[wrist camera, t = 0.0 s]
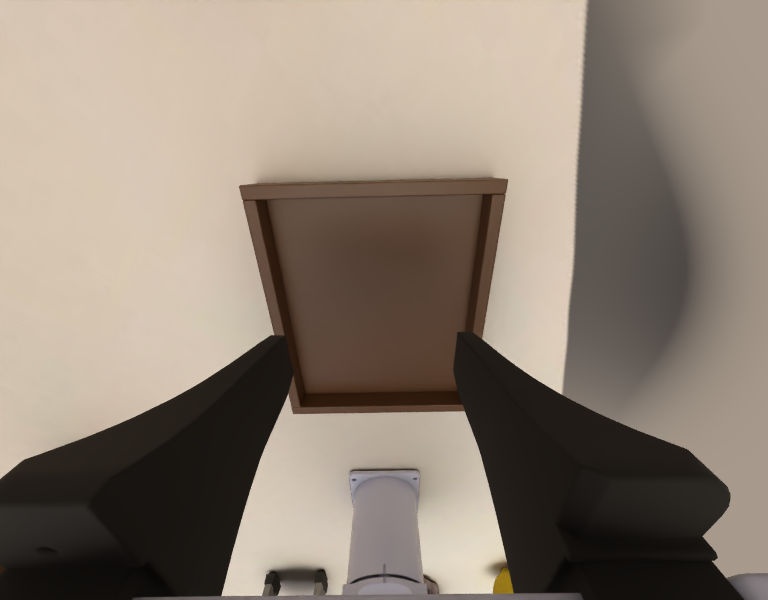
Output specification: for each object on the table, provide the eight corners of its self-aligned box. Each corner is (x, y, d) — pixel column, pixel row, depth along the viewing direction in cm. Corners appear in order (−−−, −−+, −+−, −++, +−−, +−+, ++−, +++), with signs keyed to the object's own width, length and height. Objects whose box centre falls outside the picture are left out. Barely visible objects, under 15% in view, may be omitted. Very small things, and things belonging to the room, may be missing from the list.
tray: (463, 391, 26) (470, 411, 24) (300, 393, 26) (293, 414, 24) (493, 177, 18) (508, 179, 16) (256, 183, 18) (238, 185, 16)
